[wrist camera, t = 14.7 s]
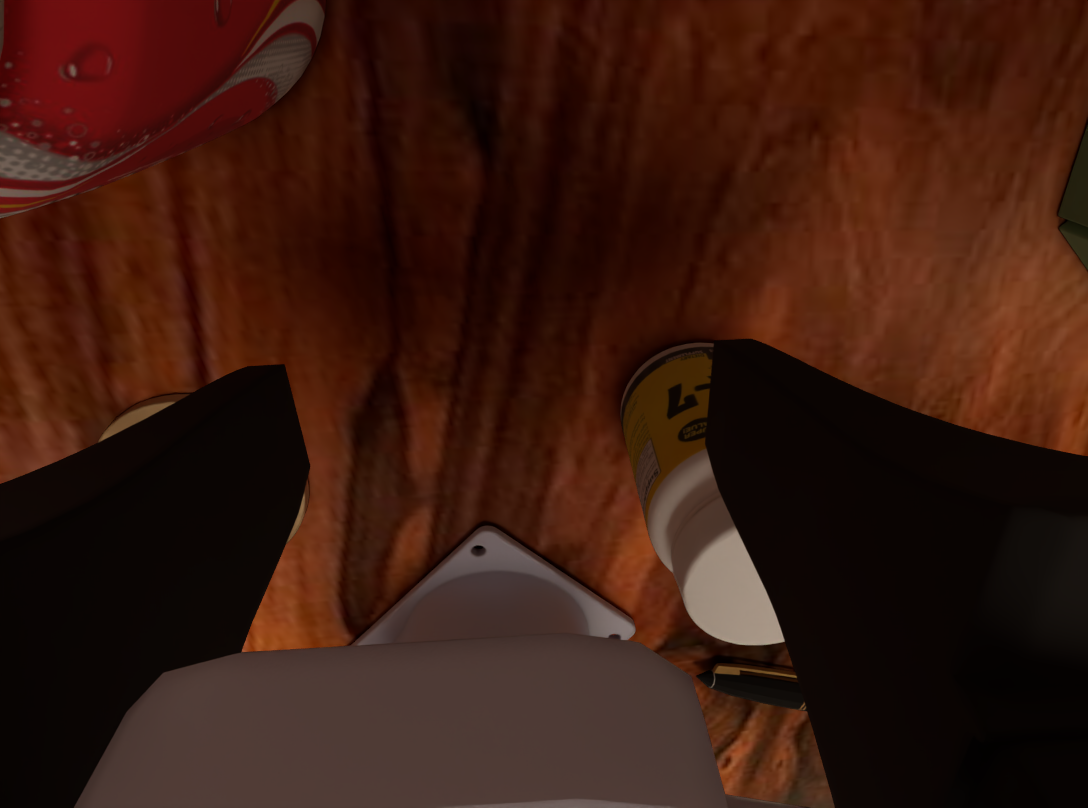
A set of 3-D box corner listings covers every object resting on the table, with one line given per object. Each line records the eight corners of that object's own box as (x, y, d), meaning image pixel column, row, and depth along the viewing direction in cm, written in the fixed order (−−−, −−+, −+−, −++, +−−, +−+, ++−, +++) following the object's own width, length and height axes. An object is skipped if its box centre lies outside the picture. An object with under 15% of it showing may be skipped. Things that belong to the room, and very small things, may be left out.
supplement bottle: (775, 340, 22) (909, 505, 14) (746, 463, 24) (848, 659, 17) (625, 335, 21) (683, 502, 14) (610, 460, 24) (654, 659, 16)
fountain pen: (961, 723, 32) (981, 704, 32) (975, 747, 31) (997, 727, 31) (686, 673, 29) (701, 650, 28) (692, 697, 28) (708, 675, 27)
